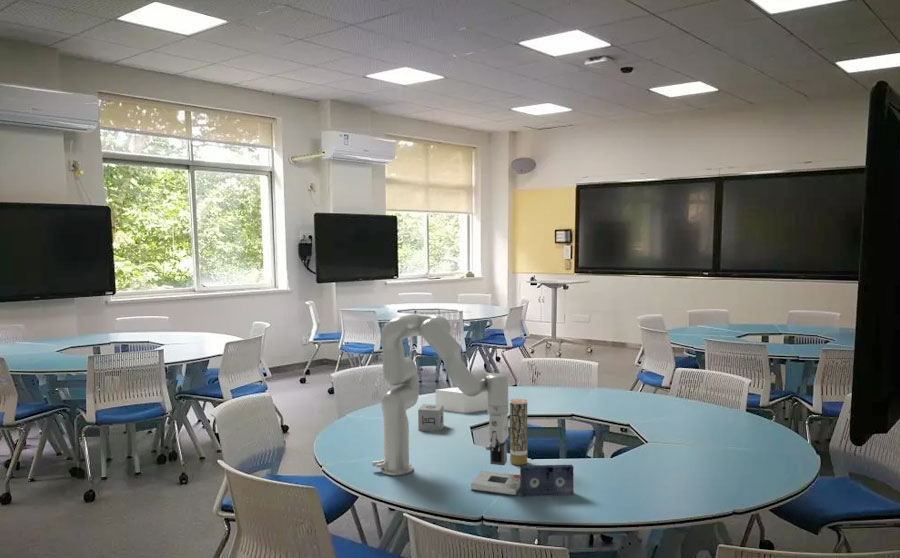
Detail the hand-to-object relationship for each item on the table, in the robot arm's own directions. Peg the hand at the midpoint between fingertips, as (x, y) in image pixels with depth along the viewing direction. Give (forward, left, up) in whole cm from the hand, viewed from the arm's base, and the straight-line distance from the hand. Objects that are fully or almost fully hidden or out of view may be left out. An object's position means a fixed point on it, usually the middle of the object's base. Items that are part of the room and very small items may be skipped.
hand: (498, 458), depth 213 cm
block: (+18, +103, -10) cm, 105 cm away
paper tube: (+16, +20, -10) cm, 28 cm away
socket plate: (0, 0, -10) cm, 10 cm away
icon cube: (-7, +76, -10) cm, 76 cm away
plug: (0, 0, -1) cm, 1 cm away
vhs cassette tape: (+14, -11, -10) cm, 20 cm away
